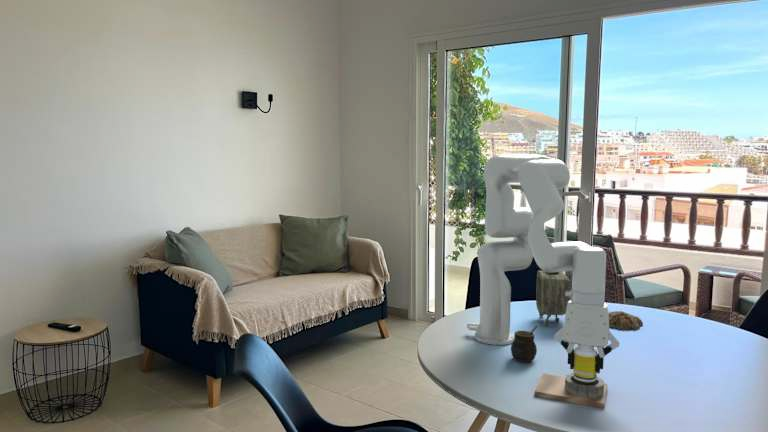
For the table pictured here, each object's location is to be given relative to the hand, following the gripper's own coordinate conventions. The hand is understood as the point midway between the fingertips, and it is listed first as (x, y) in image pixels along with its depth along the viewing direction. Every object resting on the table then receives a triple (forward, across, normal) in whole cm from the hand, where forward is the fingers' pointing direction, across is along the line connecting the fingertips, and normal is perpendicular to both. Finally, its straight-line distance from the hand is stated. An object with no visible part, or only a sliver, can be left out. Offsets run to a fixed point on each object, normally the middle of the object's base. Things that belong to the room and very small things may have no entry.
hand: (585, 368), depth 135 cm
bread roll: (+7, +7, +64) cm, 65 cm away
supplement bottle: (+3, 0, 0) cm, 3 cm away
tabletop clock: (+7, -16, +57) cm, 60 cm away
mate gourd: (+7, -18, +17) cm, 26 cm away
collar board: (+7, -3, 0) cm, 7 cm away
